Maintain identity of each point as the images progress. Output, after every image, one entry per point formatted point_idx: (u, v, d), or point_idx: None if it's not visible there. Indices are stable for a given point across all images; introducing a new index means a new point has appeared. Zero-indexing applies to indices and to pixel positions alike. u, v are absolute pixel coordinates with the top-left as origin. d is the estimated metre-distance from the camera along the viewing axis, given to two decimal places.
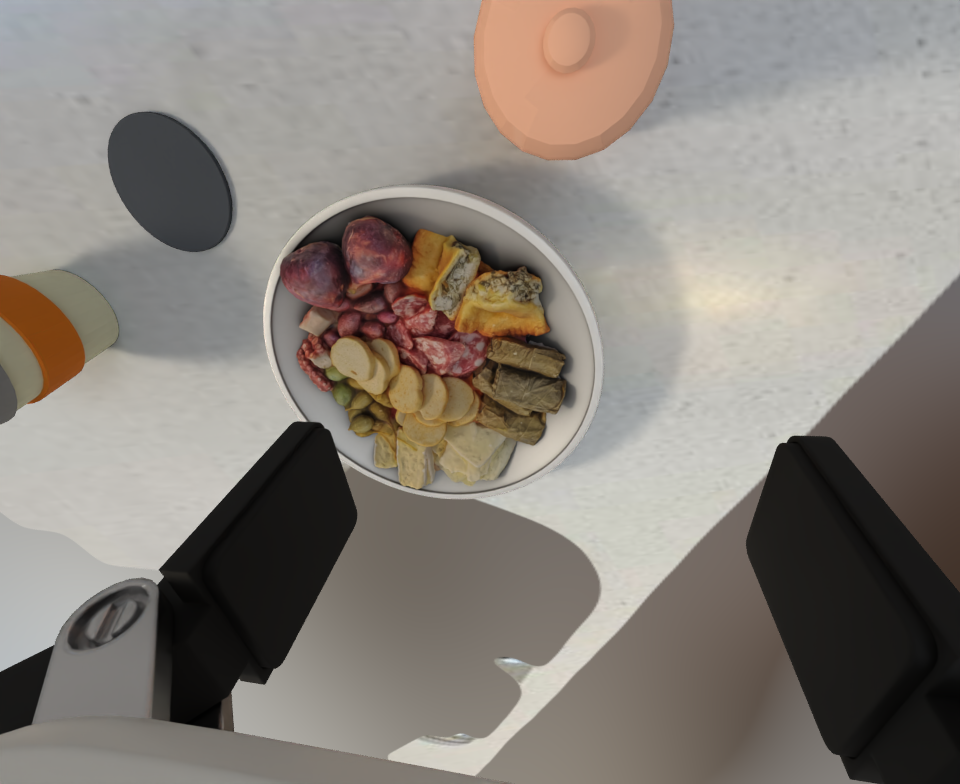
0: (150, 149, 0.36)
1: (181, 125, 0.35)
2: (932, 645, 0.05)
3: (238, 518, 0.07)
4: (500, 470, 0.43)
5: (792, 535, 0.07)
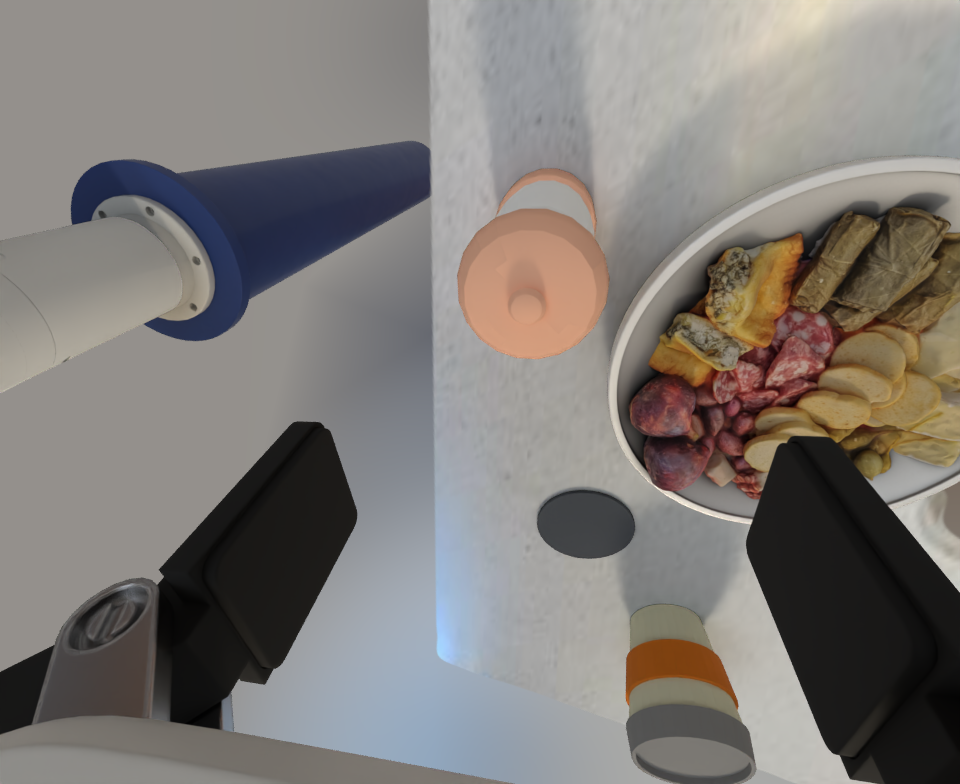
0: (559, 527, 0.51)
1: (547, 503, 0.50)
2: (932, 645, 0.05)
3: (238, 518, 0.07)
4: None
5: (792, 535, 0.07)
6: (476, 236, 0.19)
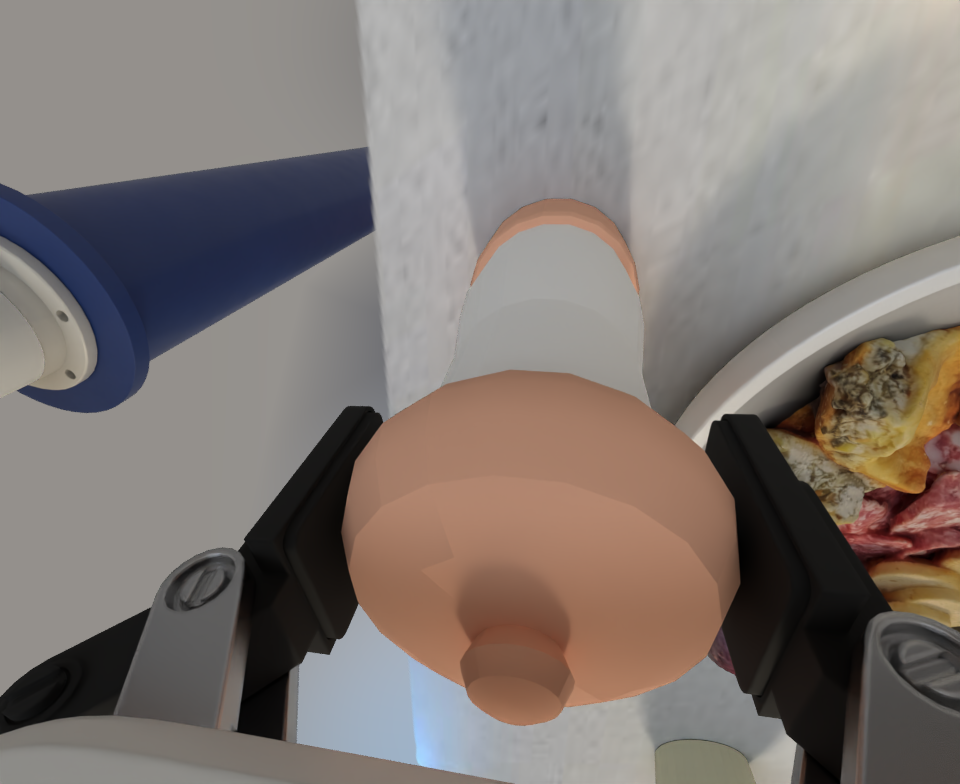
0: None
1: None
2: (806, 583, 0.05)
3: (310, 493, 0.08)
4: None
5: None
6: (377, 442, 0.07)
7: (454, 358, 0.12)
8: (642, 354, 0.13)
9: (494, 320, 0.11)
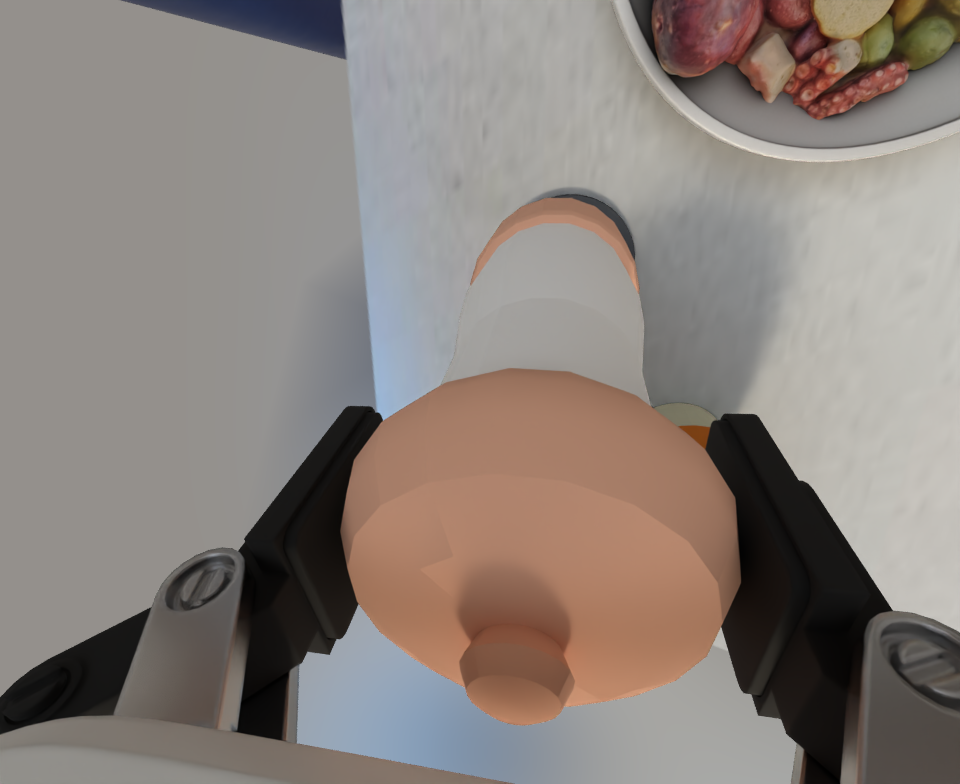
0: None
1: None
2: (806, 583, 0.05)
3: (310, 493, 0.08)
4: None
5: None
6: (377, 441, 0.07)
7: (454, 357, 0.12)
8: (642, 353, 0.13)
9: (494, 319, 0.11)
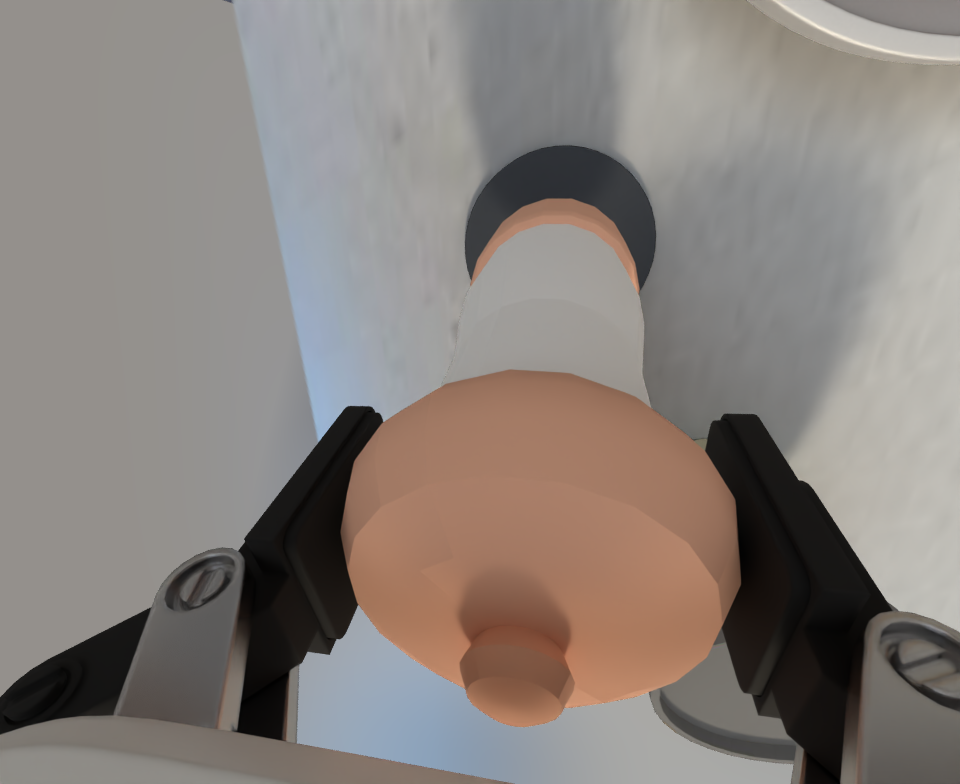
0: None
1: (480, 195, 0.25)
2: (806, 583, 0.05)
3: (310, 493, 0.08)
4: None
5: None
6: (377, 442, 0.07)
7: (454, 358, 0.12)
8: (642, 354, 0.13)
9: (494, 320, 0.11)
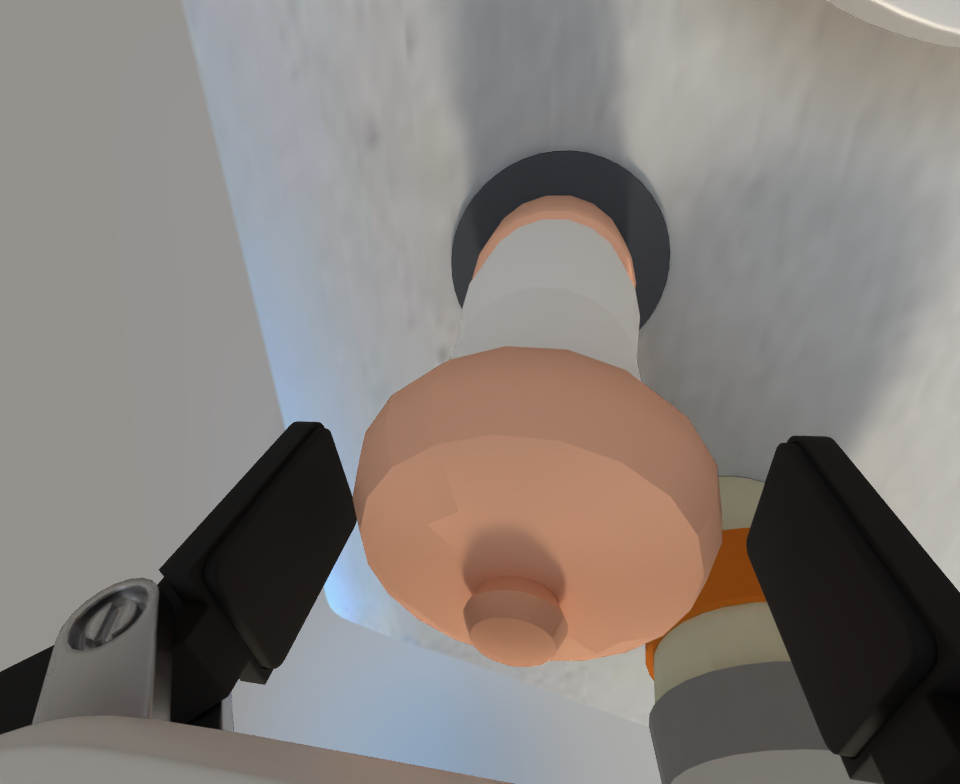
0: None
1: (467, 207, 0.22)
2: (932, 645, 0.05)
3: (238, 518, 0.07)
4: None
5: (792, 535, 0.07)
6: (387, 412, 0.08)
7: (457, 344, 0.12)
8: (637, 342, 0.14)
9: (495, 307, 0.12)
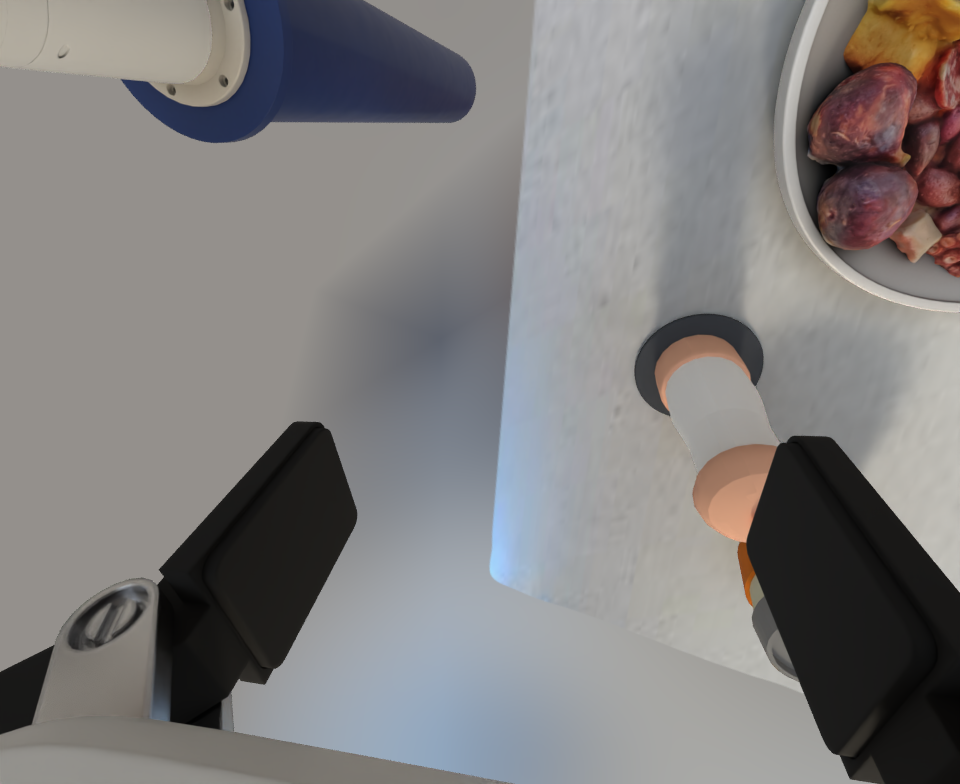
0: None
1: (651, 337, 0.40)
2: (932, 645, 0.05)
3: (238, 518, 0.07)
4: None
5: (792, 535, 0.07)
6: (723, 464, 0.26)
7: (700, 429, 0.31)
8: None
9: (720, 417, 0.30)
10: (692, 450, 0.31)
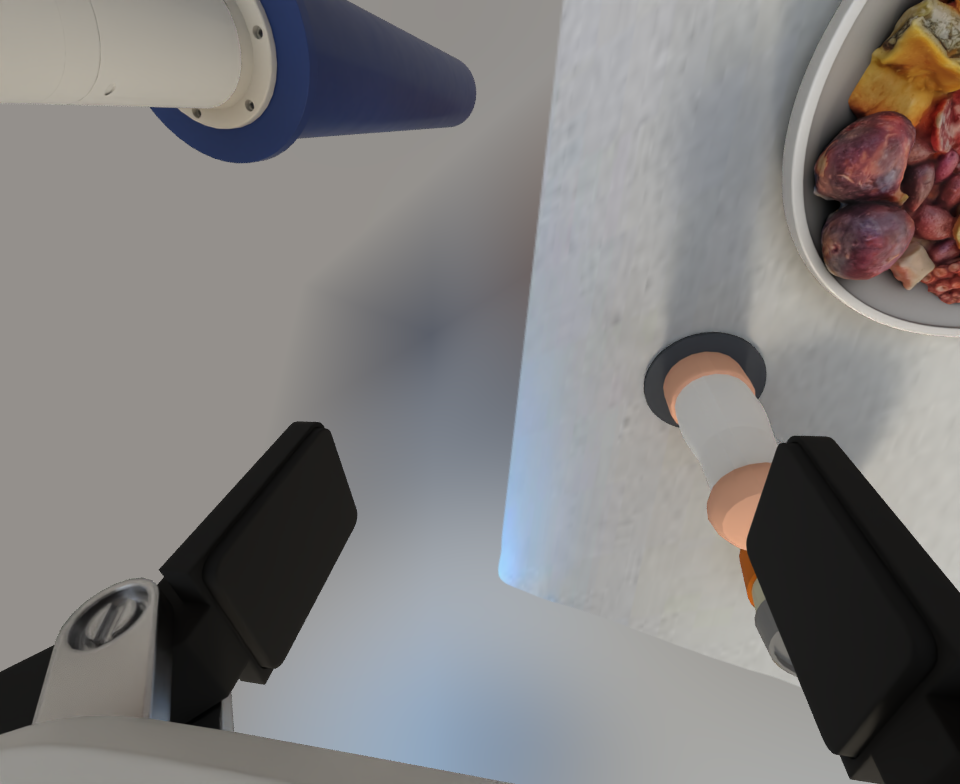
0: None
1: (661, 353, 0.42)
2: (932, 645, 0.05)
3: (238, 518, 0.07)
4: None
5: (792, 535, 0.07)
6: (737, 481, 0.28)
7: (712, 446, 0.33)
8: None
9: (730, 434, 0.32)
10: (704, 465, 0.33)
